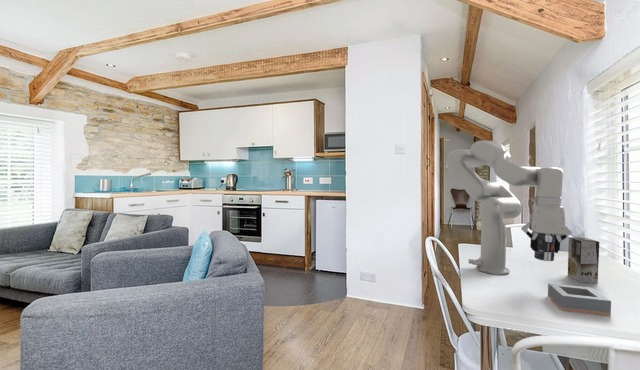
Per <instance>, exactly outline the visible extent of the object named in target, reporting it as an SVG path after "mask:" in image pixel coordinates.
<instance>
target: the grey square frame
mask: <svg viewBox="0 0 640 370" xmlns="http://www.w3.org/2000/svg"><path fill="white" fill-rule="evenodd" d="M547 298H549V300H551V301H552V302H553V303H554V304H555V305H556V306H557V307H558V308H559V309H560V310H561V311H563V312H564V311H565V312H573V313H579V314H589V315H597V316H604V317H611V313H612V312H611V311H612V300H610V299H609V298H607V297H606V296H604V295H603V294H602V293H600V292H598V291H597V290H596V289H594V288H592V287H588V286H579V285H569V284H559V283H551V282H550V283H547Z"/></svg>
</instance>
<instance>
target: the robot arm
mask: <svg viewBox="0 0 640 370" xmlns="http://www.w3.org/2000/svg"><path fill="white" fill-rule="evenodd" d="M486 165H487V166H488V167H490V168H492V169H493V172H494V174H495V175H496V176H497V177H498V178H499V179H500V180H502V181H504V182H506V183H508V184H509V185H511V186H514V187H536V190H535V196H534V197H531V199H530V202H533V203H534V204H532V206H531V207H532V208H531V212H530V214H529V215H530V216H529V221H528V222H526V224H525V225H523V226H522V227H521V231H522V232H523V233H524V234H526V235H527V237H529V238H530V246H529V247H530V248H531V250H532V251H534V252H535V251H536V250H537V240H536V237H537V236H538V234H539V233H541V234H553V235H554V236H555V238H556V239H555V253H554V254H558V253H559V251H560V249H561V243H562V242H563V241H564V240H565V239H566V238H567V237H569V236H571V235H572V233H573V232H572V230H570V229H569V228H568V227H567V226H566V215H565V208H564V206H562V191H563V180H564V171H563V169H562V168H559V167H539V166H522V165H521V166H519V165H517V164H514V163H513V162H511V154H510V153H509V152H508V151H506V150H505V147H504V145H503V144H502V143H501V142H499V141H495V140H478V141H475V142H474V143H473V144H471V146H470V149H466V148H465V149H464V148H462V149H455V150H454V149H453V150H451V151H450V152H449V153H448V154H447V157H446V167H447V169H448V172H449V174H450V175H451V177H453V178H454V180H456V181H457V182H458V183H459V184H460V186H461V188H462V189H464V190H465V192H466V193H467V194H468V195H469V197H470V198H471V199H472V200H474V201H476V202H480V203H479V208H478V209H479V211H478V212H479V216H480V227H481V228H480V231H481V232H480V257H478V258H476V259H472V258H468V264H471V265H474V266H475V267H476V268H475V269H476V270H478V271H480V272H482V273H485V274H489V275H490V274H491V275H498V276H499V275H502V276H504V275H505V276H506V275H509V274H510V269H509V268H507V267H506V266H507V265H506V260H507V227H506V223H505V221H504V220H508V219H509V220H512V219H515V218H518V217H519V216H520V215H521V213H522V211H523V209H522V208H523V207H522V204H521V202H520V201H519V200H518V198H517V197H516V196H515V195H514V194H513V193H512V192H511V191H510V190H509V189H508V188H507V187H506V186H505V185H504V184H503V183H501V182H500V181H496V180H485V179H483V178H482V177H481V176H480V175H478V174H477V172H475V171H474V170H472V169H471V168H479V167H483V166H486ZM528 229H529V230H530V231H531V232H530V231H529V230H528Z"/></svg>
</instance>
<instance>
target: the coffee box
mask: <svg viewBox="0 0 640 370" xmlns="http://www.w3.org/2000/svg"><path fill="white" fill-rule="evenodd" d="M567 250H568V251H567V253H568V255H567V276H568V277H570V278H571V279H574V280H575V281H578V282H579V283H588V284H589V283H591V284H598V283H599V282H598V281H599V262H600V260H599V259H600V258H599V257H600V241H598V240H595V239H591V238H588V237H579V236H578V237H569V236H568V249H567Z"/></svg>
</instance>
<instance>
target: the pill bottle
mask: <svg viewBox="0 0 640 370" xmlns="http://www.w3.org/2000/svg"><path fill="white" fill-rule="evenodd" d="M555 239H556V238H555V236H554V235H553V234H541V233H539V234H538V236H537V237H536V240H537V250H536V251H534V258H535V259H536V260H539V261H542V262H543V261H544V262H553V261H555V254H556V253H555Z"/></svg>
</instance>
